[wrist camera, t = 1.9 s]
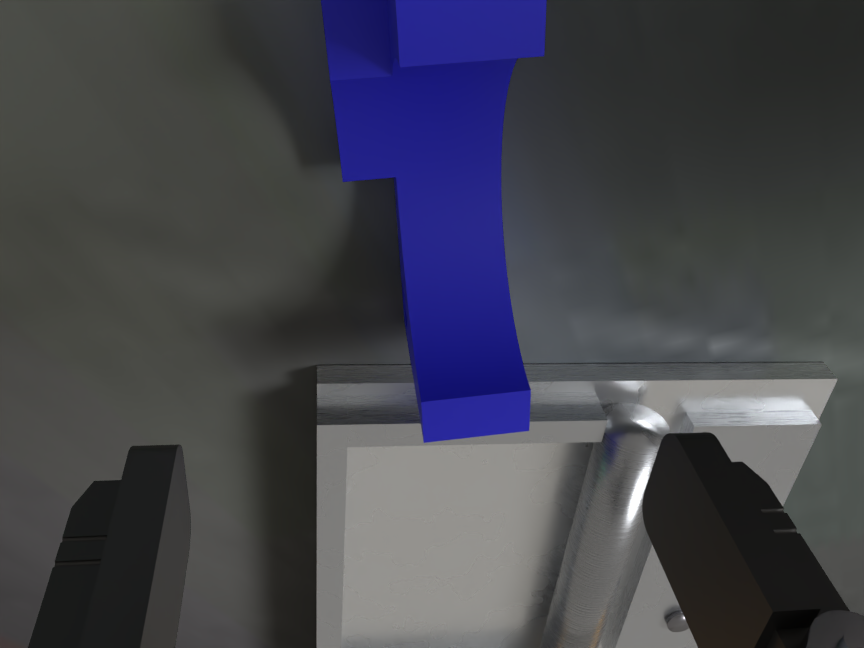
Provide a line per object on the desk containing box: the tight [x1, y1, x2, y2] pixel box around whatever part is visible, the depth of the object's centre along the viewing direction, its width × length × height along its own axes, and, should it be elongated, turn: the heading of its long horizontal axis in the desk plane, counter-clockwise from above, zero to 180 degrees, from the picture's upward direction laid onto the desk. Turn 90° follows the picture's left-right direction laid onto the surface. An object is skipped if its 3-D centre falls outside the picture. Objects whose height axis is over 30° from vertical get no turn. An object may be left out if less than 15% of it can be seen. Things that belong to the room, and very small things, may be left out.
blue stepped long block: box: [321, 0, 547, 443], centre depth 21 cm, size 12×4×6 cm, turn 2°
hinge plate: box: [316, 362, 837, 648], centre depth 33 cm, size 19×18×3 cm
